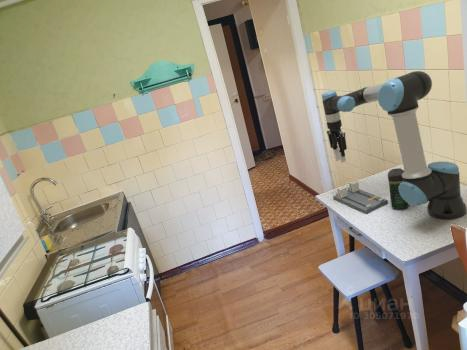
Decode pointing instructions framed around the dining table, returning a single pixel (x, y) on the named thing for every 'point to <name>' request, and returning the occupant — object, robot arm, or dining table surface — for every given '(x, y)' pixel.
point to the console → (361, 201)
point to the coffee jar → (396, 189)
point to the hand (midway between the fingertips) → (340, 160)
